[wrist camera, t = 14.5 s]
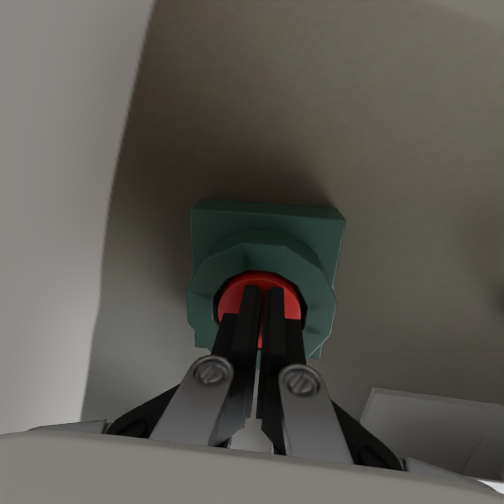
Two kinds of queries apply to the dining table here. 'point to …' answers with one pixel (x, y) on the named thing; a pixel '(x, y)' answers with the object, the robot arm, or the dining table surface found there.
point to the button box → (264, 260)
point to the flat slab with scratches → (440, 432)
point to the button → (264, 281)
